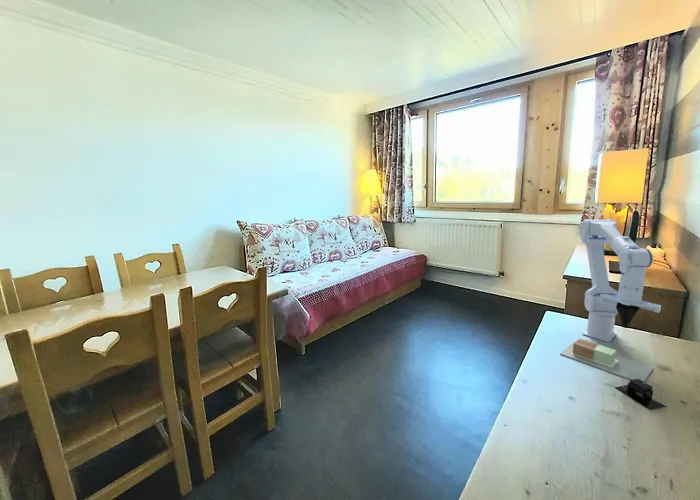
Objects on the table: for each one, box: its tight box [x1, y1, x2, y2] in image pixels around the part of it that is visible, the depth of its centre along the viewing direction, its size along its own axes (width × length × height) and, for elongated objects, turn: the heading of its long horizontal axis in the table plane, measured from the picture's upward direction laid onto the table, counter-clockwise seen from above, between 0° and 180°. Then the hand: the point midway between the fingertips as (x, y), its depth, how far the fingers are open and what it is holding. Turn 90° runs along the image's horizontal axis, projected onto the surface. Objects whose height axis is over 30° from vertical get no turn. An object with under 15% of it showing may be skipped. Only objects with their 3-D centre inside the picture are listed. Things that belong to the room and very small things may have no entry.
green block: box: [593, 344, 617, 365], centre depth 102 cm, size 5×5×4 cm
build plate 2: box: [614, 379, 668, 411], centre depth 85 cm, size 12×7×5 cm, turn 11°
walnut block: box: [573, 337, 600, 360], centre depth 106 cm, size 6×6×4 cm
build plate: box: [559, 341, 654, 383], centre depth 102 cm, size 12×21×1 cm, turn 37°
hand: (625, 326), depth 102 cm, fingers closed
